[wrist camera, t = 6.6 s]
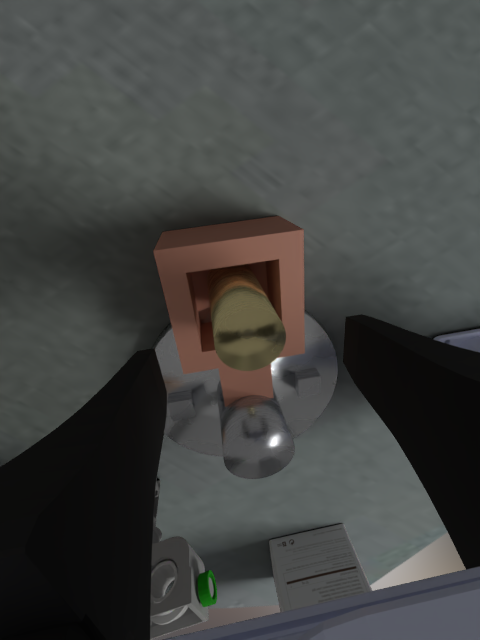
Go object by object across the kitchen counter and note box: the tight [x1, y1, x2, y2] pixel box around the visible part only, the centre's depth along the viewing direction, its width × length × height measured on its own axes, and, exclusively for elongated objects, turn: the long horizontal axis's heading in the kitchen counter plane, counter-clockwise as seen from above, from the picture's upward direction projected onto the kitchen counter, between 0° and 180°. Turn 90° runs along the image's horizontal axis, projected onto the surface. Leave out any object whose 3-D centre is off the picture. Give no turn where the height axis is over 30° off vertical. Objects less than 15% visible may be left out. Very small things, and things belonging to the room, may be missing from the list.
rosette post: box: [152, 308, 338, 479], centre depth 20 cm, size 14×14×7 cm
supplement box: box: [269, 524, 372, 612], centre depth 29 cm, size 9×9×15 cm
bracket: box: [153, 216, 305, 407], centre depth 18 cm, size 7×10×4 cm
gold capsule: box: [207, 264, 286, 371], centre depth 15 cm, size 3×3×7 cm
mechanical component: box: [150, 479, 217, 640], centre depth 22 cm, size 3×10×10 cm, turn 108°
